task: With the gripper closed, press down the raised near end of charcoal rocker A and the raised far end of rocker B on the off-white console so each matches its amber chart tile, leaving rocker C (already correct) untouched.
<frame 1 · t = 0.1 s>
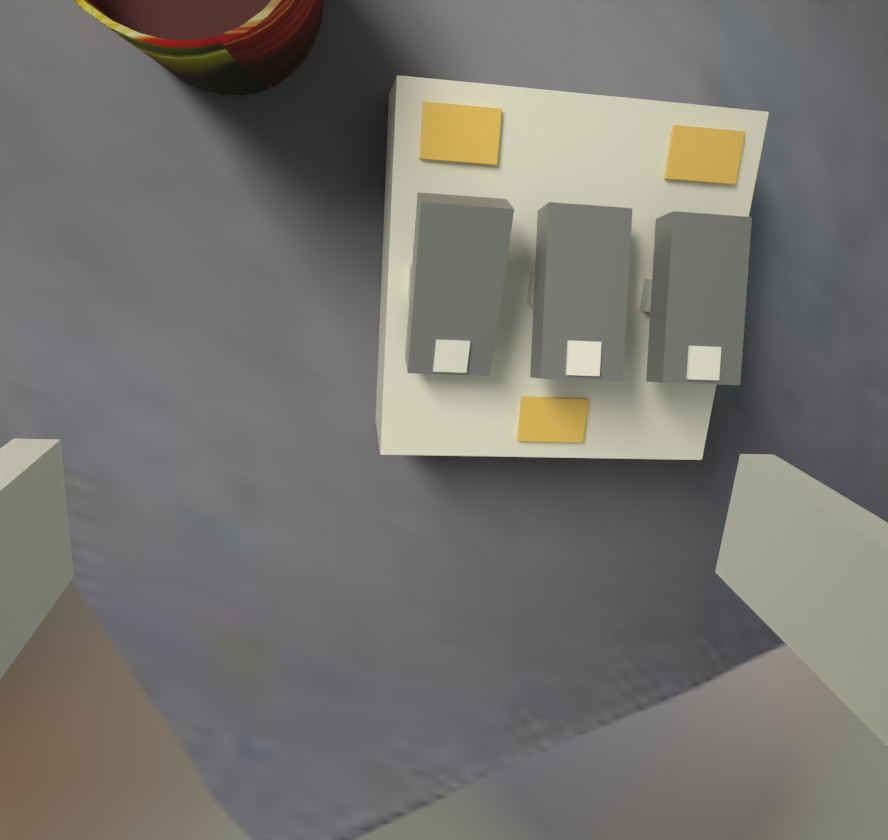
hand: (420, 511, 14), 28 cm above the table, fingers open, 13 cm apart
rocker A: (455, 289, 32), point 8 cm above the table, hinge at 13.0°
rocker C: (698, 301, 34), point 8 cm above the table, hinge at -13.0°
console: (536, 276, 40), on the table
rocker B: (580, 295, 33), point 8 cm above the table, hinge at -13.0°
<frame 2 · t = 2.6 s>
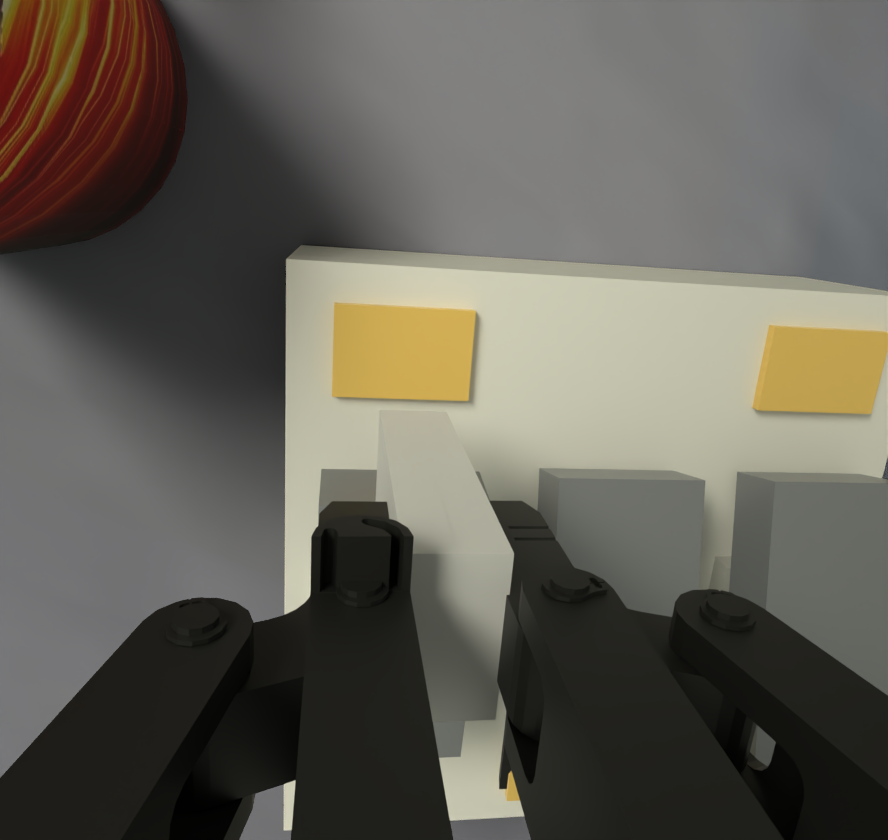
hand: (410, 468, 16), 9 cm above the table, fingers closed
rocker A: (395, 622, 18), point 8 cm above the table, hinge at 6.1°, touching gripper
rocker C: (811, 615, 20), point 8 cm above the table, hinge at -13.0°
console: (536, 500, 27), on the table
rocker B: (612, 618, 19), point 8 cm above the table, hinge at -13.0°
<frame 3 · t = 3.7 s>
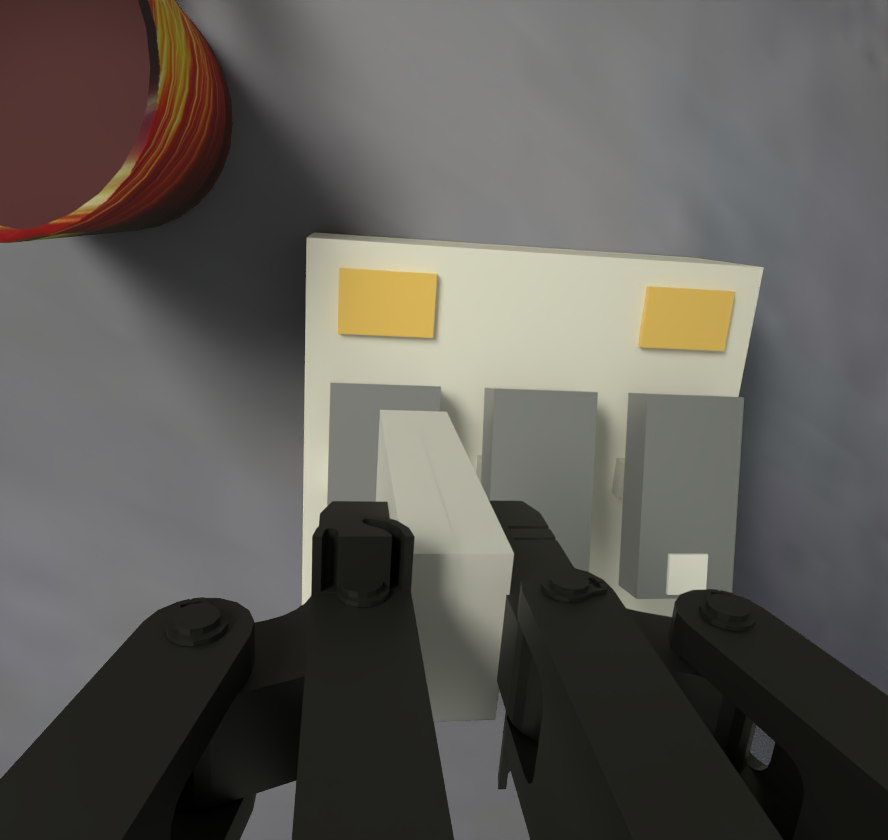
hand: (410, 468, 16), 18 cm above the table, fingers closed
rocker A: (381, 490, 26), point 8 cm above the table, hinge at -13.9°
rocker C: (680, 494, 28), point 8 cm above the table, hinge at -13.0°
console: (493, 430, 35), on the table
mug: (90, 54, 28), on the table
rocker B: (535, 492, 27), point 8 cm above the table, hinge at -13.0°
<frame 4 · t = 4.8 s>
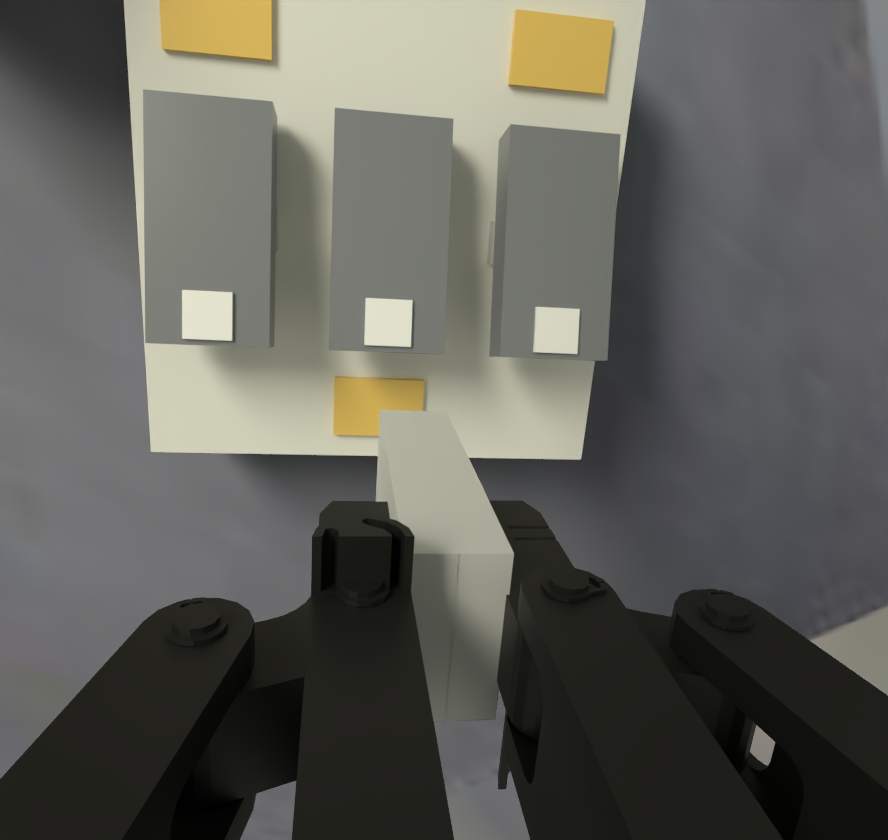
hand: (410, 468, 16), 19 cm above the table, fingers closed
rocker A: (212, 226, 24), point 8 cm above the table, hinge at -10.5°
rocker C: (553, 249, 25), point 8 cm above the table, hinge at -13.0°
console: (378, 227, 32), on the table
rocker B: (389, 238, 24), point 8 cm above the table, hinge at -13.0°
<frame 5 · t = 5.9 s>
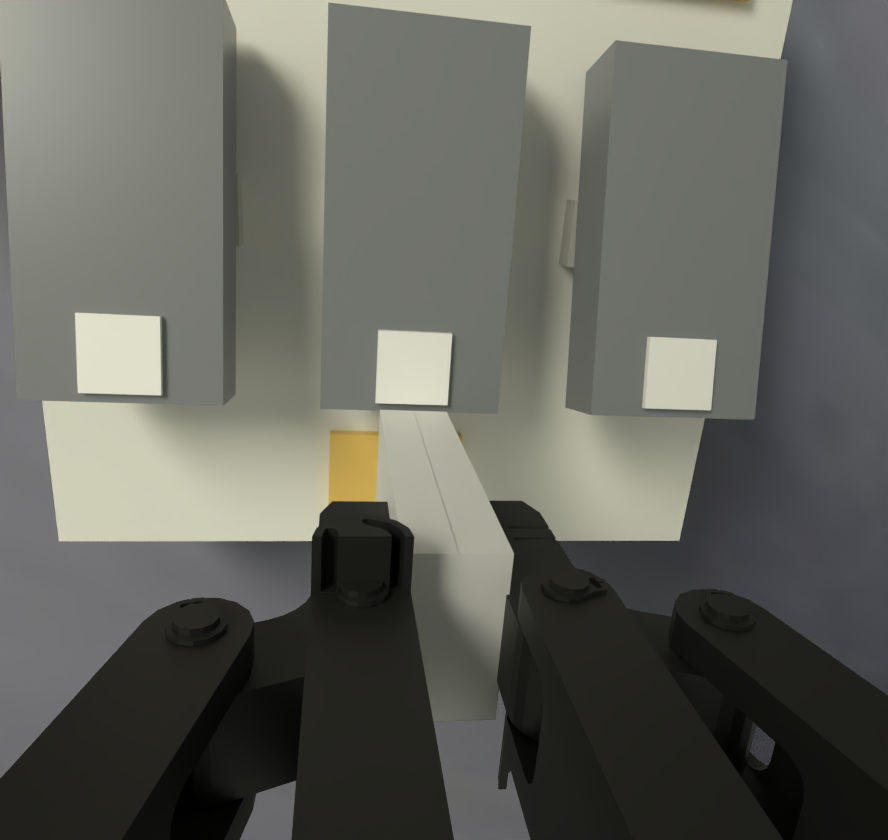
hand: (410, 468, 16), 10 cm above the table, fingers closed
rocker A: (129, 206, 14), point 8 cm above the table, hinge at -9.8°
rocker C: (671, 244, 16), point 8 cm above the table, hinge at -13.0°
console: (392, 209, 23), on the table
rocker B: (416, 227, 15), point 8 cm above the table, hinge at -4.5°, touching gripper
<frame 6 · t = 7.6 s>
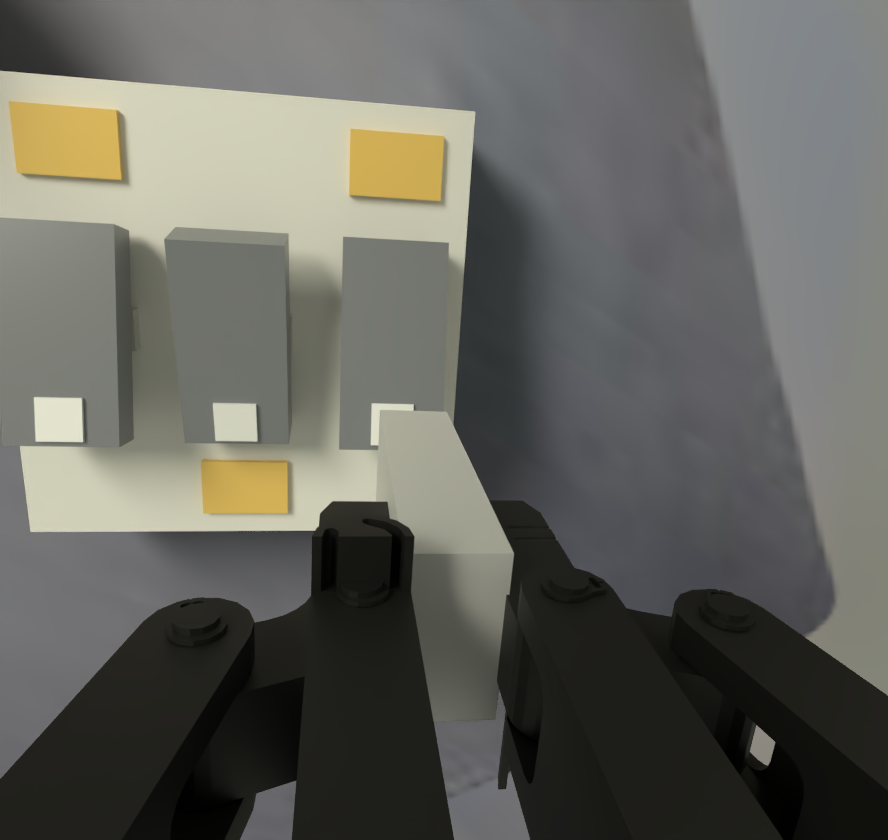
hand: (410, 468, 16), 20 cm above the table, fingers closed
rocker A: (66, 335, 25), point 8 cm above the table, hinge at -9.7°
rocker C: (392, 346, 27), point 8 cm above the table, hinge at -13.0°
console: (259, 309, 34), on the table
rocker B: (234, 342, 26), point 8 cm above the table, hinge at 10.7°
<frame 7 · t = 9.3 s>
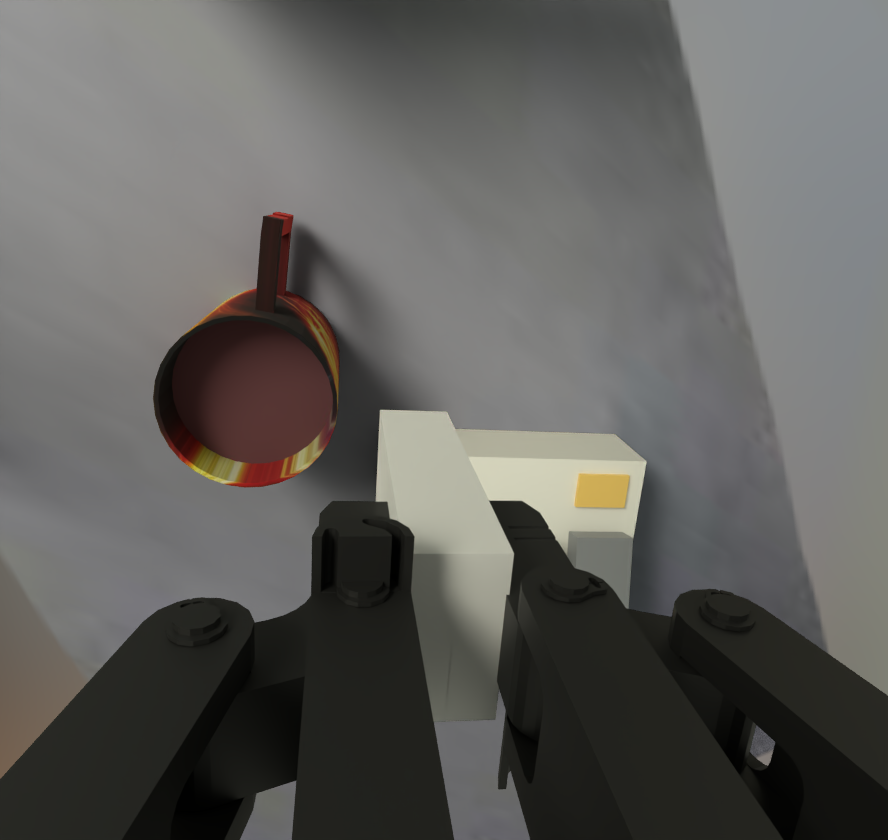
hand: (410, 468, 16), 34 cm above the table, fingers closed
rocker C: (597, 591, 48), point 8 cm above the table, hinge at -13.0°
console: (490, 537, 55), on the table
mug: (260, 328, 48), on the table
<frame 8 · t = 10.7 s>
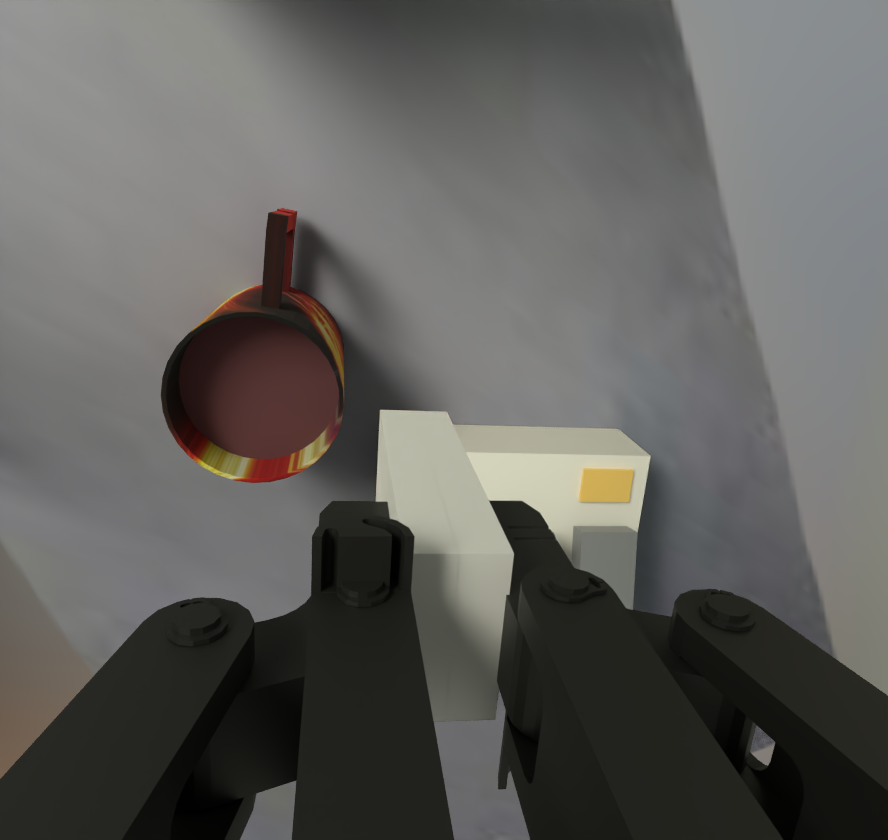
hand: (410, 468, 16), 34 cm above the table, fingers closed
rocker C: (602, 585, 49), point 8 cm above the table, hinge at -13.0°
console: (495, 532, 55), on the table
mug: (264, 324, 48), on the table
rocker B: (519, 586, 48), point 8 cm above the table, hinge at 12.0°
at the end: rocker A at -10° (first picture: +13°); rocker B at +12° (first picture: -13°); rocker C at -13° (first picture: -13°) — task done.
